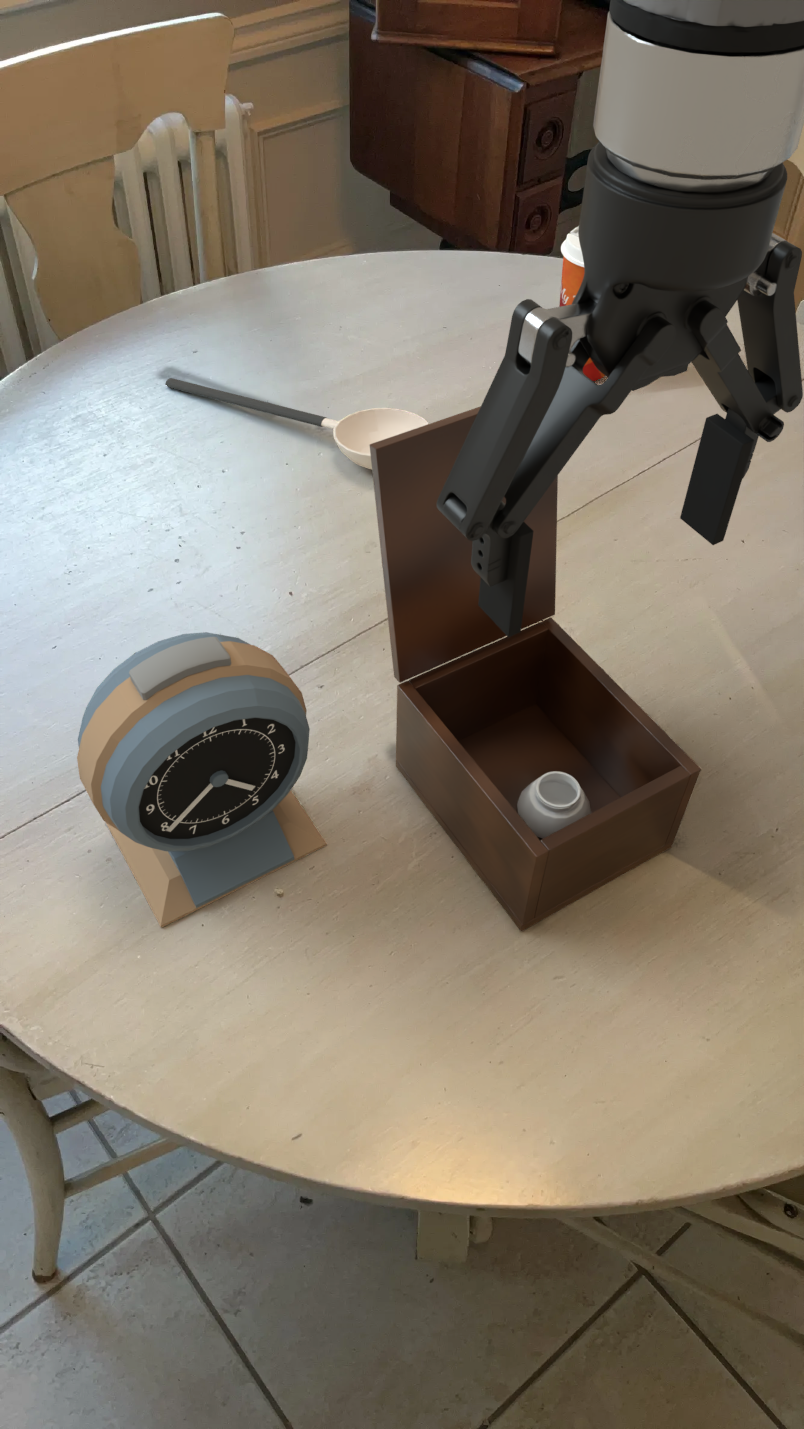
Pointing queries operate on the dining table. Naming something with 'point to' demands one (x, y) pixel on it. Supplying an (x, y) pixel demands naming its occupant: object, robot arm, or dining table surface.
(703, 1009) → the dining table surface
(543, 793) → the lidless jar
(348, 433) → the ladle
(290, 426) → the dining table surface
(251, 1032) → the dining table surface
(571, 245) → the paper cup
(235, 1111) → the dining table surface
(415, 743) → the keepsake box
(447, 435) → the box lid
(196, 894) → the alarm clock
